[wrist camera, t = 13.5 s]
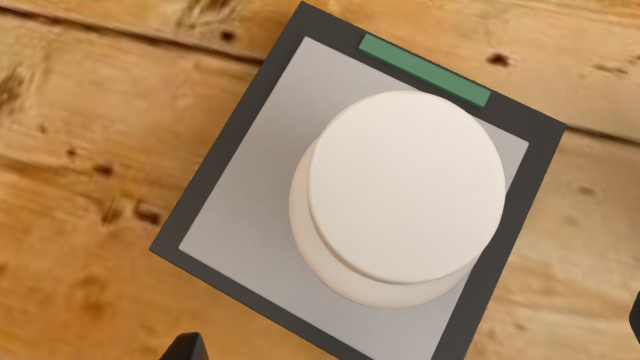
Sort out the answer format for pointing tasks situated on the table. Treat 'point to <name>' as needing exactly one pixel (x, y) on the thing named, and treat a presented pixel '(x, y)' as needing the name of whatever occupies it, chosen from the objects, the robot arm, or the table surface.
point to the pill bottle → (396, 199)
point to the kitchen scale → (277, 174)
